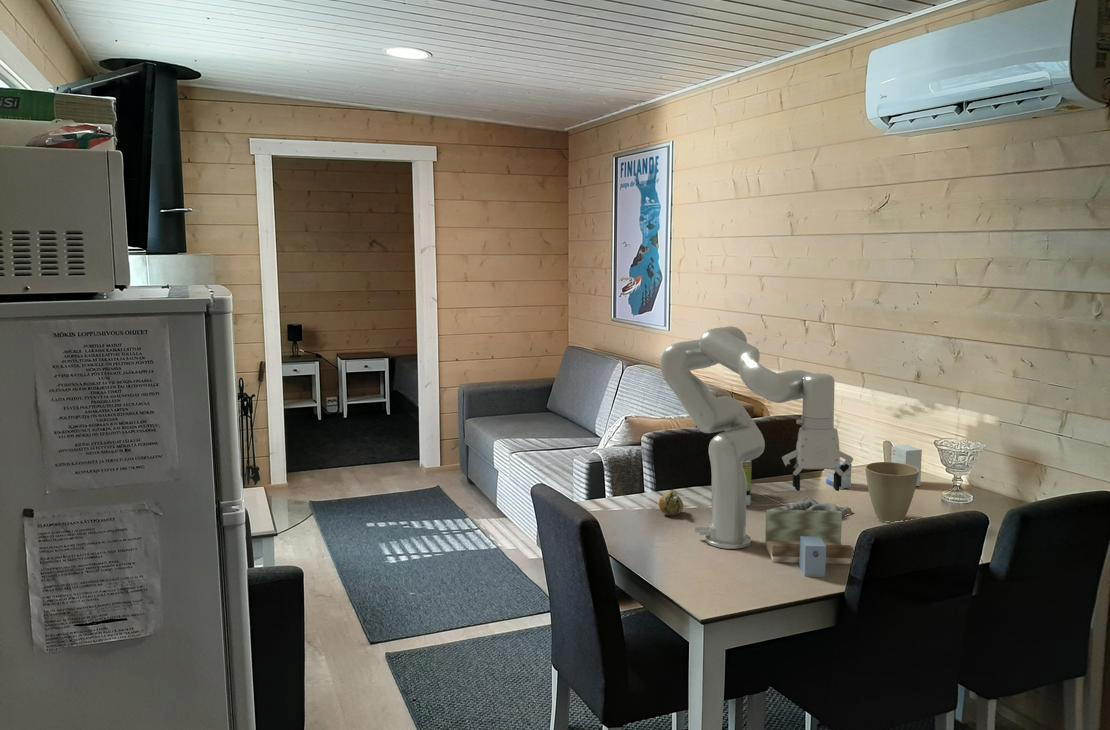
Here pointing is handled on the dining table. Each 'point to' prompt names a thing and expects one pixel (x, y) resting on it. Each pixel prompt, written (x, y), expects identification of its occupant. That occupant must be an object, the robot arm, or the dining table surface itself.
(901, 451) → the small box
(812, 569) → the cabinet block
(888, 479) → the plant pot
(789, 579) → the dining table surface
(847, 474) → the medicine box
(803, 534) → the upright panel stand
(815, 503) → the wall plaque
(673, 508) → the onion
